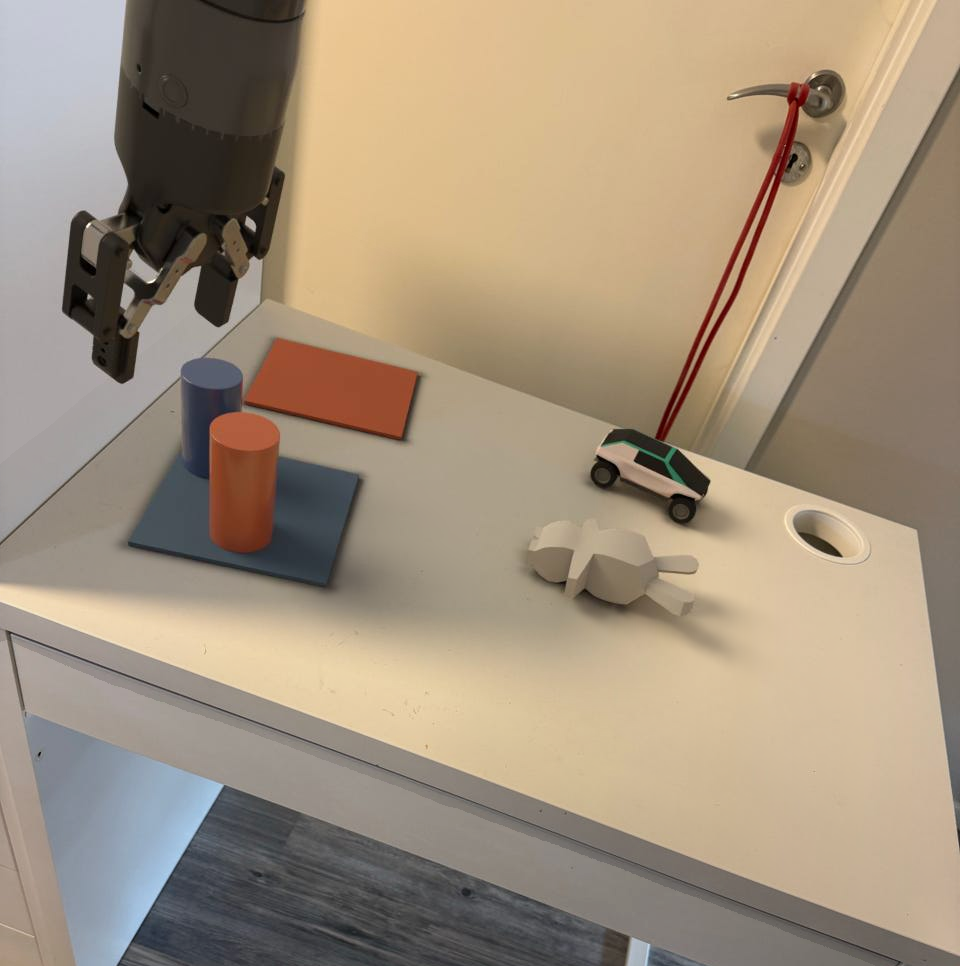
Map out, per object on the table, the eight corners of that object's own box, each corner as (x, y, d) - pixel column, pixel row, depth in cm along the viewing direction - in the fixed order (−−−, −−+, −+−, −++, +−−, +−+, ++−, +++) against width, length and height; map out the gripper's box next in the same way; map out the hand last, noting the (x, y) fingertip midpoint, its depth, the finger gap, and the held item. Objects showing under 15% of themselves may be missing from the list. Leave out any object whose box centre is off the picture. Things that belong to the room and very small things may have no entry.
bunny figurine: (546, 494, 81) (707, 534, 79) (538, 539, 84) (691, 577, 83) (523, 552, 74) (698, 597, 72) (515, 598, 78) (682, 642, 76)
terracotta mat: (243, 403, 88) (244, 400, 87) (276, 340, 98) (277, 337, 97) (400, 440, 89) (401, 436, 89) (417, 374, 99) (418, 371, 99)
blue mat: (127, 545, 70) (127, 541, 70) (189, 439, 82) (189, 435, 81) (325, 587, 72) (326, 583, 71) (358, 477, 83) (359, 474, 83)
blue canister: (174, 471, 77) (172, 380, 71) (191, 441, 81) (191, 352, 74) (231, 484, 78) (234, 394, 71) (246, 453, 81) (249, 365, 75)
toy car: (601, 456, 96) (617, 413, 92) (702, 502, 94) (722, 460, 90) (583, 480, 92) (598, 436, 88) (688, 528, 90) (709, 486, 86)
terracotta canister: (200, 545, 71) (200, 441, 64) (218, 507, 75) (220, 405, 68) (264, 558, 72) (271, 457, 65) (279, 520, 76) (287, 421, 69)
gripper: (240, 6, 45) (192, 267, 58) (22, 54, 36) (21, 353, 48) (355, 95, 46) (283, 337, 58) (168, 165, 36) (129, 435, 49)
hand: (164, 344), depth 53 cm, fingers open, 8 cm apart
